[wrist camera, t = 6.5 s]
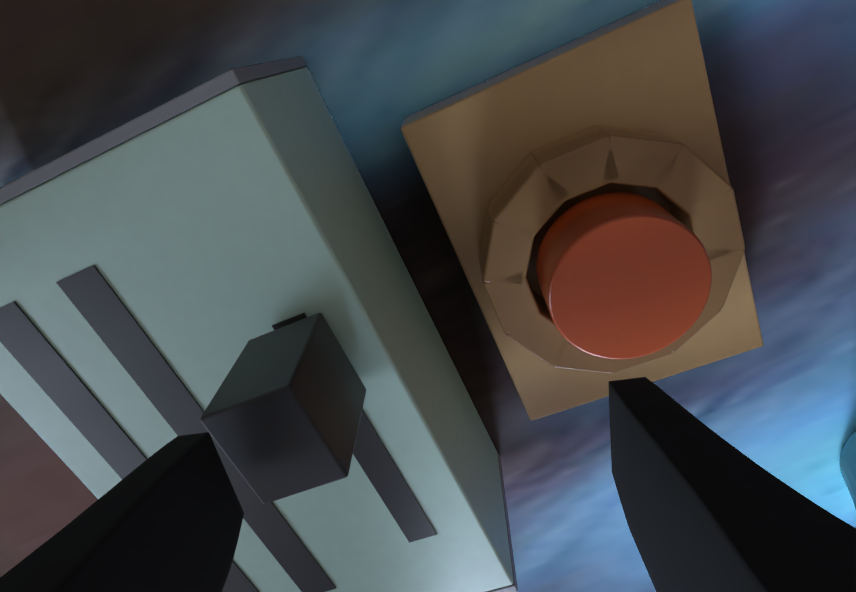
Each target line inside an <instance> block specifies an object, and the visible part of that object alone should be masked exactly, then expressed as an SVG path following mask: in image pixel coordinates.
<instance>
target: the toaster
mask: <svg viewBox="0 0 856 592" xmlns="http://www.w3.org/2000/svg"><path fill="white" fill-rule="evenodd" d="M305 66H307V64H306V62H305V60H304V58H303V56H298V57H293V58H287V59H282V60H277V61H271V62H266V63H261V64H255V65H250V66H245V67H239V68H234V69H230V70H228V71H226V72H225V73H223V74H221V75H219V76H217V77H215V78H213V79H211V80H209V81H207V82H205V83H203V84H201V85H199V86H197V87H195V88H193V89H191V90H189V91H187V92H186V93H184V94H182V95H180V96H178V97H176V98H174V99H172V100H170V101H168V102H166V103H164V104H162V105H160V106H158V107H156V108H154V109H152V110H150V111H148V112H146V113H145V114H143V115H141V116H139V117H137V118H135V119H133V120H131V121H129V122H127V123H125V124H123V125H121V126H119V127H117V128H115V129H113V130H111V131H109V132H107V133H106V134H104V135H102V136H100V137H98V138H96V139H94V140H92V141H90V142H88V143H86V144H84V145H82V146H80V147H78V148H76V149H74V150H72V151H70V152H68V153H67V154H65V155H63V156H61V157H59V158H57V159H55V160H53V161H51V162H49V163H47V164H45V165H43V166H41V167H39V168H37V169H35V170H33V171H31V172H29V173H28V174H26V175H24V176H22V177H20V178H18V179H16V180H14V181H12V182H10V183H8V184H6V185H4V186H2V187H0V394H1V395H2V396H3V397H4V398H5V399H6V400H7V401H8V402H9V403H10V405H11V406H12V407H13V408H14V409H15V410H16V411H17V412H18V413H19V414H20V415H21V416H22V417H23V419H24V420H25V421H26V422H27V423H28V424H29V425H30V426H31V427H32V428H33V429H34V430H35V432H36V433H37V434H38V435H39V436H40V437H41V438H42V439H43V440H44V441H45V442H46V443H47V444H48V446H49V447H50V448H51V449H52V450H53V451H54V452H55V453H56V454H57V455H58V456H59V457H60V458H61V460H62V461H63V462H64V463H65V464H66V465H67V466H68V467H69V468H70V469H71V470H72V471H73V472H74V474H75V475H76V476H77V477H78V478H79V479H80V480H81V481H82V482H83V483H84V484H85V485H86V486H87V488H88V489H89V490H90V491H91V492H92V493H93V494H94V495H95V496H96V497H97V498H98V499H100V498H101V497H102V496H103V495H104V494H106V493H107V492H108V491H109V490H110V489H112V488H113V487H114V486H115V485H116V484H118V483H119V482H120V481H121V480H122V479H124V478H125V477H126V476H127V475H128V474H130V473H131V472H132V471H133V470H134V469H136V468H137V467H138V466H139V465H141V464H142V463H143V462H144V461H145V460H147V459H148V458H149V457H150V456H152V455H153V454H154V453H155V452H157V451H158V450H159V449H161V448H162V447H163V446H165V445H166V444H167V443H169V442H170V441H171V440H173V439H174V438H176V437H177V436H182V435H190V434H198V433H205V432H208V431H207V429H206V428H205V427H204V425H203V424H202V423H201V421H200V418H201V416H202V414H203V413H204V411H205V410H206V408H207V406H208V405H209V403H210V402H211V400H212V398H213V397H214V395H215V394H216V392H217V390H218V389H219V387H220V386H221V384H222V382H223V381H224V379H225V378H226V376H227V374H228V373H229V371H230V370H231V368H232V366H233V365H234V363H235V362H236V360H237V358H238V357H239V355H240V354H241V352H242V351H243V349H244V347H245V346H246V344H247V343H248V341H249V340H251V339H254V338H256V337H259V336H261V335H264V334H266V333H269V332H271V331H274V330H276V329H279V328H281V327H284V326H286V325H289V324H292V323H294V322H297V321H299V320H302V319H304V318H307V317H309V316H312V315H314V314H317V313H322V314H323V316H324V318H325V320H326V321H327V323H328V325H329V326H330V328H331V330H332V332H333V333H334V335H335V337H336V338H337V340H338V342H339V344H340V345H341V347H342V349H343V350H344V352H345V354H346V356H347V357H348V359H349V361H350V362H351V364H352V366H353V367H354V369H355V371H356V373H357V374H358V376H359V378H360V379H361V381H362V383H363V385H364V386H365V388H366V395H365V399H364V404H363V409H362V413H361V418H360V423H359V427H358V432H357V437H356V441H355V446H354V451H353V455H352V460H351V465H350V469H349V474H348V476H347V477H346V478H344V479H341V480H338V481H334V482H331V483H328V484H325V485H322V486H319V487H316V488H313V489H310V490H307V491H304V492H301V493H297V494H294V495H291V496H288V497H285V498H282V499H279V500H276V501H273V502H270V503H267V504H263V503H262V502H261V500H260V499H259V498H258V496H257V495H256V494H255V492H254V491H253V490H252V489H251V487H250V486H249V485H248V483H247V482H246V481H245V479H244V478H243V477H242V475H241V474H240V473H239V471H238V470H237V469H236V467H235V466H234V465H233V464H232V462H231V461H230V460H229V458H228V457H227V456H226V454H225V453H224V452H223V450H222V449H221V448H220V446H219V445H218V444H217V443H216V441H215V440H214V439H213V437H212V436H211V435H210V436H211V438H212V440H213V443H214V445H215V447H216V450H217V452H218V454H219V456H220V459H221V461H222V463H223V466H224V468H225V470H226V472H227V475H228V477H229V479H230V482H231V484H232V486H233V489H234V491H235V493H236V495H237V498H238V500H239V502H240V505H241V507H242V509H243V511H244V516H243V520H242V525H241V529H240V534H239V538H238V542H237V546H236V550H235V554H234V558H233V561H232V565H231V569H230V571H229V574H228V577H227V580H226V582H225V585H224V588H223V590H222V592H515V591H518V588H517V581H516V573H515V566H514V558H513V550H512V543H511V535H510V528H509V520H508V512H507V505H506V497H505V490H504V482H503V474H502V467H501V459H500V456H499V454H498V453H497V451H496V449H495V447H494V445H493V443H492V441H491V439H490V437H489V434H488V432H487V430H486V428H485V426H484V424H483V422H482V420H481V418H480V416H479V414H478V412H477V410H476V408H475V406H474V404H473V402H472V400H471V398H470V396H469V394H468V392H467V390H466V388H465V386H464V384H463V382H462V380H461V378H460V376H459V374H458V372H457V370H456V367H455V365H454V363H453V361H452V359H451V357H450V355H449V353H448V351H447V349H446V347H445V345H444V343H443V341H442V339H441V337H440V335H439V333H438V331H437V329H436V327H435V325H434V323H433V321H432V319H431V317H430V315H429V313H428V311H427V309H426V307H425V305H424V303H423V300H422V298H421V296H420V294H419V292H418V290H417V288H416V286H415V284H414V282H413V280H412V278H411V276H410V274H409V272H408V270H407V268H406V266H405V264H404V262H403V260H402V258H401V256H400V254H399V252H398V250H397V248H396V246H395V244H394V242H393V240H392V238H391V236H390V233H389V231H388V229H387V227H386V225H385V223H384V221H383V219H382V217H381V215H380V213H379V211H378V209H377V207H376V205H375V203H374V201H373V199H372V197H371V195H370V193H369V191H368V189H367V187H366V185H365V183H364V181H363V179H362V177H361V175H360V173H359V171H358V169H357V166H356V164H355V162H354V160H353V158H352V156H351V154H350V152H349V150H348V148H347V146H346V144H345V142H344V140H343V138H342V136H341V134H340V132H339V130H338V128H337V126H336V124H335V122H334V120H333V118H332V116H331V114H330V112H329V110H328V108H327V106H326V104H325V102H324V99H323V97H322V95H321V93H320V91H319V89H318V87H317V85H316V83H315V81H314V79H313V77H312V75H311V73H310V71H309V69H308V68H307V67H305ZM209 434H210V433H209Z"/></svg>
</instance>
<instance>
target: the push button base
mask: <svg viewBox="0 0 856 592" xmlns="http://www.w3.org/2000/svg"><path fill="white" fill-rule="evenodd" d="M401 131H402V134H403V136H404V138H405V140H406V143H407V145H408V147H409V149H410V151H411V154H412V156H413V158H414V160H415V163H416V165H417V167H418V169H419V172H420V174H421V176H422V178H423V181H424V183H425V185H426V187H427V190H428V192H429V194H430V196H431V199H432V201H433V203H434V205H435V208H436V210H437V212H438V214H439V217H440V219H441V221H442V223H443V225H444V228H445V230H446V232H447V234H448V237H449V239H450V241H451V243H452V246H453V248H454V250H455V252H456V255H457V257H458V259H459V261H460V264H461V266H462V268H463V270H464V273H465V275H466V277H467V279H468V282H469V284H470V286H471V288H472V290H473V293H474V295H475V297H476V299H477V302H478V304H479V306H480V308H481V311H482V313H483V315H484V317H485V320H486V322H487V324H488V326H489V329H490V331H491V333H492V335H493V338H494V340H495V342H496V344H497V347H498V349H499V351H500V353H501V356H502V358H503V360H504V362H505V364H506V367H507V369H508V371H509V373H510V376H511V378H512V380H513V382H514V385H515V387H516V389H517V391H518V394H519V396H520V398H521V400H522V403H523V405H524V407H525V409H526V412H527V414H528V416H529V418H530V420H531V421H533V420H536V419H539V418H542V417H545V416H548V415H551V414H554V413H557V412H561V411H564V410H567V409H570V408H573V407H576V406H579V405H582V404H585V403H588V402H592V401H595V400H598V399H601V398H604V397H607V396H609V383H608V381H615V380H623V379H631V378H639V377H646V378H647V379H649V380H650V381H651V382H653V381H656V380H660V379H663V378H666V377H669V376H672V375H675V374H678V373H681V372H684V371H687V370H691V369H694V368H697V367H700V366H703V365H706V364H709V363H712V362H715V361H718V360H721V359H725V358H728V357H731V356H734V355H737V354H740V353H743V352H746V351H749V350H752V349H756V348H759V347H762V346H763V340H762V335H761V331H760V326H759V321H758V316H757V311H756V307H755V302H754V297H753V292H752V287H751V283H750V278H749V273H748V268H747V263H746V259H745V254H744V252H745V250H744V249H745V243H744V238H743V234H742V229H741V224H740V219H739V214H738V209H737V205H736V200H735V195H734V190H733V188H732V187H731V185H730V182H729V177H728V172H727V168H726V163H725V158H724V153H723V148H722V144H721V139H720V134H719V129H718V125H717V120H716V115H715V110H714V105H713V101H712V96H711V91H710V86H709V81H708V77H707V72H706V67H705V62H704V57H703V53H702V48H701V43H700V38H699V34H698V29H697V24H696V19H695V14H694V10H693V5H692V0H660V1H658V2H656V3H654V4H652V5H649V6H647V7H645V8H643V9H641V10H638V11H636V12H634V13H632V14H630V15H628V16H625V17H623V18H621V19H619V20H617V21H614V22H612V23H610V24H608V25H606V26H604V27H601V28H599V29H597V30H595V31H593V32H590V33H588V34H586V35H584V36H582V37H580V38H577V39H575V40H573V41H571V42H569V43H567V44H564V45H562V46H560V47H558V48H556V49H553V50H551V51H549V52H547V53H545V54H543V55H540V56H538V57H536V58H534V59H532V60H529V61H527V62H525V63H523V64H521V65H519V66H516V67H514V68H512V69H510V70H508V71H505V72H503V73H501V74H499V75H497V76H495V77H492V78H490V79H488V80H486V81H484V82H481V83H479V84H477V85H475V86H473V87H471V88H468V89H466V90H464V91H462V92H460V93H457V94H455V95H453V96H451V97H449V98H447V99H444V100H442V101H440V102H438V103H436V104H433V105H431V106H429V107H427V108H425V109H423V110H420V111H418V112H416V113H414V114H412V115H410V116H407V117H406V118H405V119H404V121H403V124H402V126H401ZM612 192H627V193H633V194H638V195H641V196H644V197H647V198H649V199H651V200H653V201H654V202H656V203H657V204H659V205H660V206H662V207H663V208H664V209H665V210H667V211H668V212H669V213H670V214H671V215H673V216H674V217H675V218H676V219H678V220H679V221H680V222H681V223H682V224H684V225H685V226H686V227H687V228H689V229H690V230H691V231H692V232H693V233H694V234H695V235H696V236H697V237H698V238H699V240H700V241H701V242H702V244H703V245H704V247H705V249H706V251H707V253H708V256H709V260H710V264H711V270H712V283H711V289H710V294H709V297H708V300H707V303H706V305H705V307H704V309H703V311H702V313H701V314H700V316H699V318H698V319H697V320H696V322H695V323H694V324H693V326H692V327H691V328H690V329H689V330H688V331H687V332H686V333H685V334H684V335H682V336H681V337H680V338H679V339H678V340H676V341H675V342H673V343H672V344H670V345H669V346H667V347H665V348H663V349H661V350H659V351H657V352H654V353H652V354H649V355H645V356H642V357H637V358H632V359H606V358H600V357H597V356H593V355H590V354H588V353H586V352H583V351H581V350H580V349H578V348H576V347H575V346H573V345H572V344H571V343H569V342H568V341H567V340H566V339H565V338H564V337H563V336H562V335H561V334H560V332H559V331H558V329H557V328H556V326H555V324H554V322H553V320H552V318H551V315H550V312H549V310H548V307H547V304H546V302H545V299H544V296H543V294H542V291H541V288H540V285H539V282H538V277H537V257H538V252H539V248H540V245H541V243H542V240H543V238H544V236H545V234H546V233H547V231H548V229H549V228H550V227H551V225H552V224H553V223H554V222H555V220H556V219H557V218H558V217H559V216H560V215H561V214H563V213H564V212H565V211H566V210H568V209H569V208H570V207H572V206H573V205H575V204H577V203H578V202H580V201H583V200H585V199H587V198H589V197H592V196H596V195H599V194H604V193H612Z"/></svg>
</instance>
